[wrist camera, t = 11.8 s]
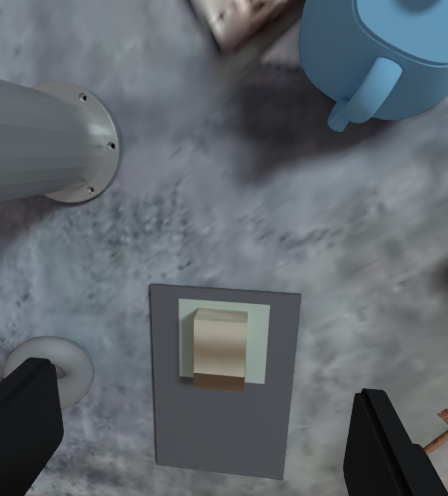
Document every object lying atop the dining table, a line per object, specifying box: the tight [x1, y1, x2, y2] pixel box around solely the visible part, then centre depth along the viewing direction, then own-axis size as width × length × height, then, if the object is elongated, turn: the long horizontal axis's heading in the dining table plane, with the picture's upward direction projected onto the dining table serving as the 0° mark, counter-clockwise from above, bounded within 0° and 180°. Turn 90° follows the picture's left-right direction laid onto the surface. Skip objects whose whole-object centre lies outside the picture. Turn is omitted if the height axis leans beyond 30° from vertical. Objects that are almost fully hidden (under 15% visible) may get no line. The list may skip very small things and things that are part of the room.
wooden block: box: [193, 308, 248, 392], centre depth 40 cm, size 9×6×3 cm
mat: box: [150, 284, 301, 480], centre depth 43 cm, size 18×28×1 cm, turn 178°
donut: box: [3, 336, 94, 409], centre depth 40 cm, size 10×4×10 cm, turn 58°
